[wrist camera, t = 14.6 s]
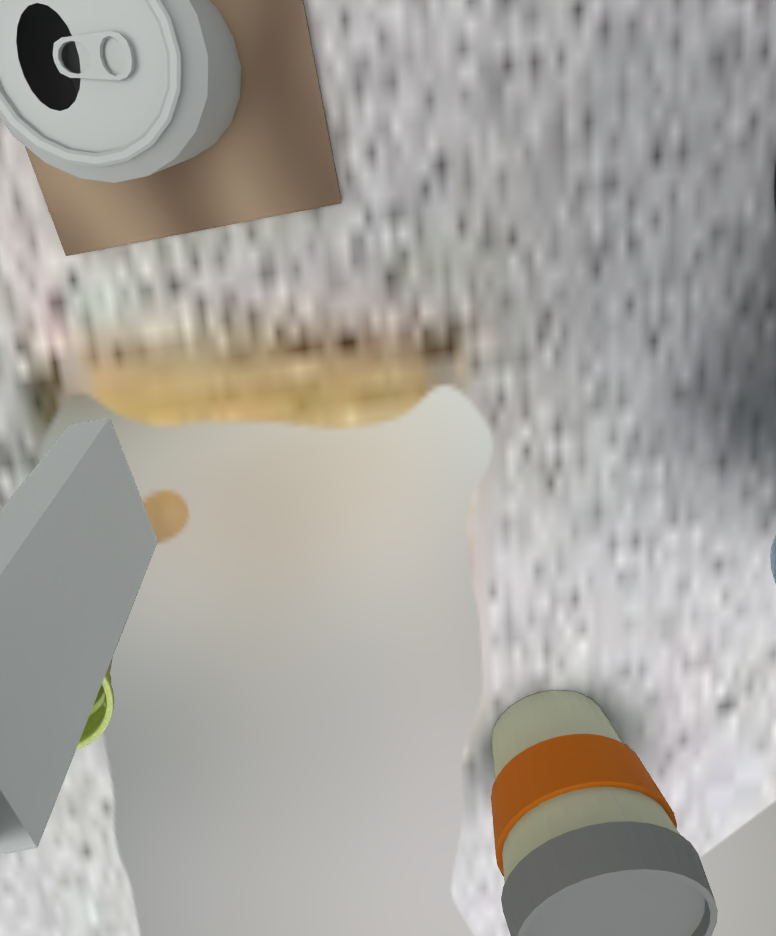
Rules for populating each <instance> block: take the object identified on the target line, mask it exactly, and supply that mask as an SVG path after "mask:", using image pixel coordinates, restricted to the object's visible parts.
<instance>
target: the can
mask: <svg viewBox="0 0 776 936" xmlns="http://www.w3.org/2000/svg"><path fill="white" fill-rule="evenodd" d="M240 88H241V65H240V61H239V56H238V52H237V48H236V44H235V40H234V37H233V35H232V33H231V31H230V30H229V28H228V26H227V24H226V22H225V20H224V19H223V17H222V15H221V13H220V11H219V10H218V8H217V7H216V6H215V5H214V4H213V3H212V2H211V1H210V0H0V118H1V119H2V121H3V122H4V123H5V125H6V126H7V128H8V129H9V130H10V132H11V133H12V135H13V136H14V137H15V138H16V139H17V140H19V141H20V142H21V143H22V144H23V145H25V146H26V147H27V148H28V149H29V150H31V151H32V152H33V153H34V154H35V155H37V156H38V157H39V158H40V159H41V160H43V161H44V162H45V163H47V164H49V165H51V166H54V167H56V168H58V169H60V170H62V171H65V172H67V173H69V174H71V175H73V176H76V177H78V178H81V179H89V180H96V181H104V182H112V183H116V182H121V181H126V180H131V179H136V178H141V177H146V176H149V175H151V174H154V173H156V172H159V171H161V170H163V169H166V168H168V167H171V166H173V165H176V164H178V163H180V162H183V161H185V160H188V159H190V158H193V157H195V156H196V155H198V154H199V153H201V152H203V151H204V150H206V149H207V148H209V147H211V146H212V145H214V144H215V143H216V142H217V141H218V139H219V138H220V137H221V136H222V134H223V133H224V132H225V130H226V129H227V128H228V127H229V125H230V124H231V122H232V119H233V116H234V114H235V111H236V108H237V105H238V102H239V99H240Z"/></svg>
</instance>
